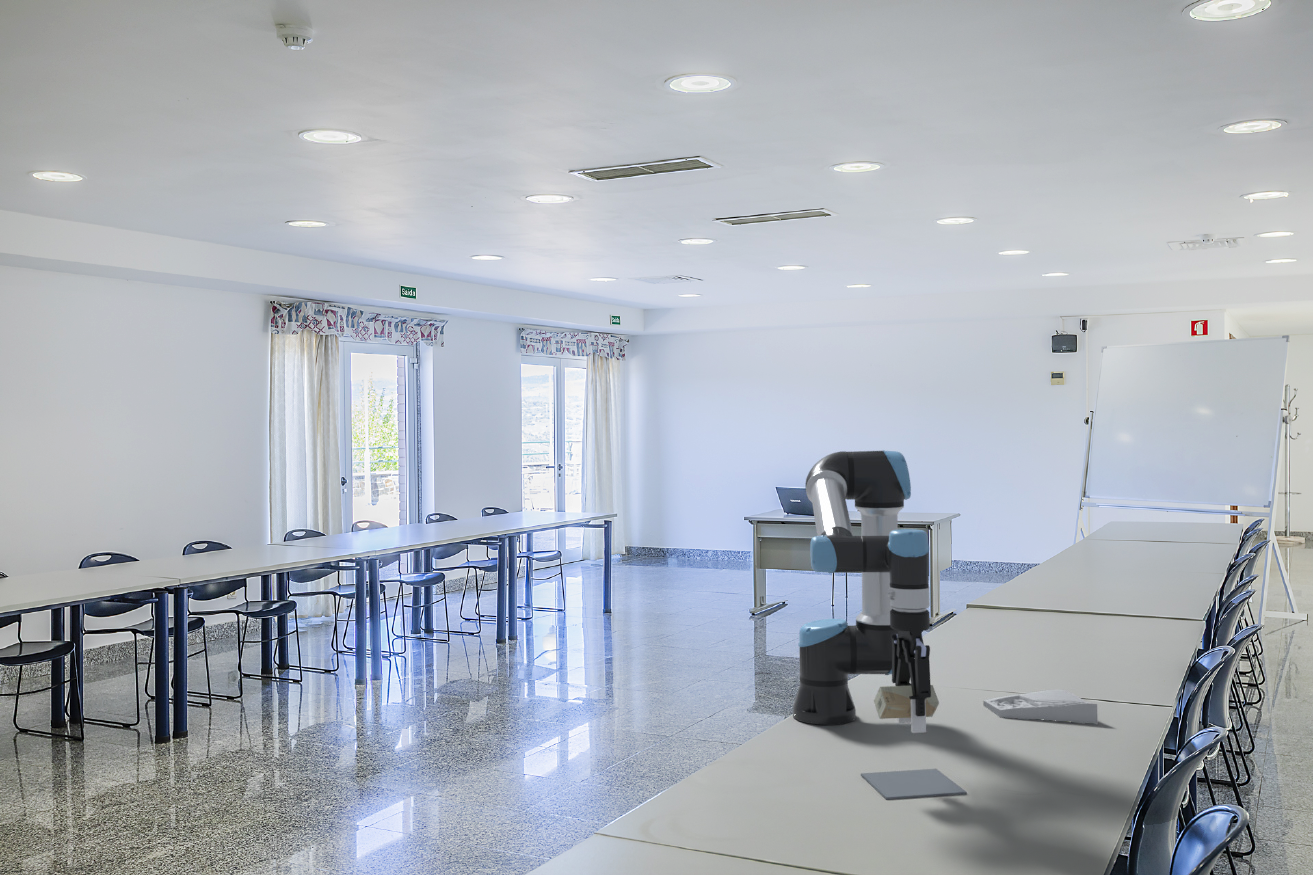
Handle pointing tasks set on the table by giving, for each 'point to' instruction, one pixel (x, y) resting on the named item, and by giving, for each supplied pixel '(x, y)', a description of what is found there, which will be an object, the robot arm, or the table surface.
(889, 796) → the mat
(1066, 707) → the ramp
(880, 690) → the box
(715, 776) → the table surface
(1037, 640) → the table surface
